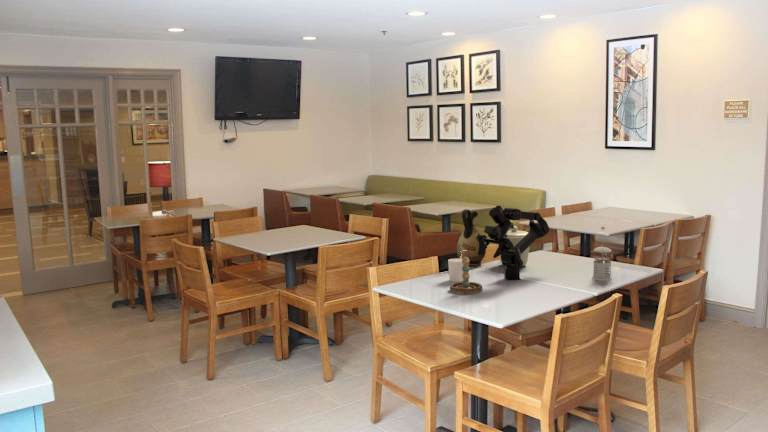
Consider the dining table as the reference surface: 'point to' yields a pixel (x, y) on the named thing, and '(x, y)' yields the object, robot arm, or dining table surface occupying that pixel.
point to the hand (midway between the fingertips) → (486, 256)
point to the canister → (515, 238)
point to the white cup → (455, 270)
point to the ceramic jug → (469, 239)
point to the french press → (602, 265)
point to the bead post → (465, 273)
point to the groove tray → (473, 289)
